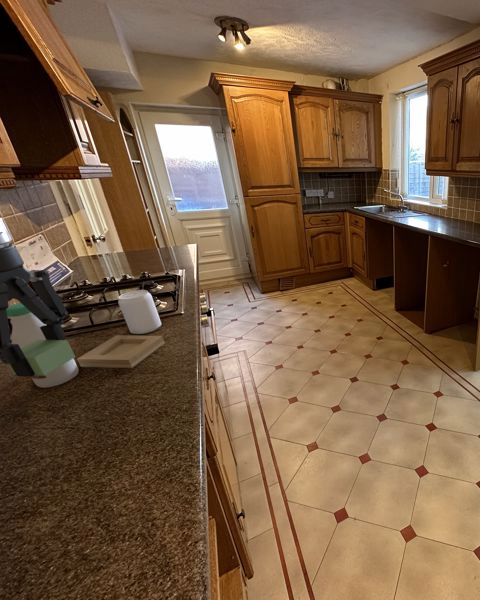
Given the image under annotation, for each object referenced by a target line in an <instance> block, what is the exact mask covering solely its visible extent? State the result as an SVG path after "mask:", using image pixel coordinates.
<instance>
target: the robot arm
mask: <svg viewBox="0 0 480 600" xmlns="http://www.w3.org/2000/svg"><path fill="white" fill-rule="evenodd" d="M12 240H13V239H12V236H11V234H10V232H9V230H8V228H7V227H6V224H5V223H4V221H3V218H2V216H1V215H0V361H1V363H2V364H4V365H8V364H10V365H11V367H12V369H13V370H14V372H15V373H16V375H15V376H16V377H30V378H31V377H32V376H33V375H35V373H34V371H33V369H32V368H31V366H30V364H29V362H28V361H27V359H26V357H25V355H24V353H23V352H22V350H21V348H20V346H19V345H18V344H12V338H11V333H10V325H9V318H8V316H7V311H6V309H7V308H8V307H9V306H10V305H9V302H11V301H12V300H13V299H14V300H16V301H18V302H19V303H21V304H23V305H24V306H25V307H26V308H27V309H28V310H29V311H30V312H31V313H32V314H33V315H35V316H36V317H37V318H38V319H39V320H40V321H41V322H42V323H43V324H46V325H44V326H41V327H40V329H41V331H42V333H43V335H44V337H45V338H46V340H65V339H64V338H66V333H65V331H64V329H63V327H62V325H63V324H65V319H64V318H67V317H68V316H69V313H68V311H67V309H66V307H65V305H64V303H63V302H62V300H61V298H60V297H59V295H58V293H57V291H56V289H55V288H54V286H53V284H52V283H51V282H52V281H51V279H50V272H49V271H48V270H46V269H31V270H28V269H27V268H25V266H24V264H25V262H24V259H23V257H22V255H21V253H20V251H19V249H18V248H17V246H16V245H14V244H12V243H11V242H12ZM29 283H31V285H32V288H33V289H34V290H35V291H34V290H33V289H32V288H31V287H30V286H29ZM37 296H38V297H37Z"/></svg>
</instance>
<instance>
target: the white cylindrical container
mask: <svg viewBox="0 0 480 600" xmlns="http://www.w3.org/2000/svg"><path fill="white" fill-rule="evenodd" d="M117 303H118V306H119V308H120V311H121V313H122V316H123V318H124V320H125V323H126V325H127V328H128V330H129V332H130V333H131V334H133V335H144V334H148V333H152V332H154V331H156V330H158V329H159V328H160V327H161V326H162V320H161V319H160V316H159V312H158V310H157V307H156V303H155V300H154V299H153V296H152V294H151V293H150V292H149V291H148V290H146V289H136V290H132V291H128V292H125V293H122V294H120V295H119V296H118V301H117Z"/></svg>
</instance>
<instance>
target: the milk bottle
mask: <svg viewBox="0 0 480 600" xmlns="http://www.w3.org/2000/svg"><path fill="white" fill-rule="evenodd" d="M6 311H7V318H8V320H10V321H11V324H12V329H11V336H10V339H11V344H18V345H19V346H20V348H22V347H24V346H26V345H28V344H30V343H32V342H34V341H36V340H46V338H45V337H44V335H43V333H42V331H41V329H40V327H41V326H44V325H46V324H43V323H42V322H41V321H40V320H39V319H38V318H37V317H36V316H35V315H33V314H32V313H31V312H30V311H29V310H28V309H27V308H26V307H25V306H24V305H23V304H21V303H20V302H19V303H15V304H10V305H9V307H8V308H7V309H6ZM79 371H80V369H79V367H78V365H77V363H76V360H75V358H73V359H71V360H70V361H68V362H66V363H65V364H63V365H61V366H60V367H58V368H56V369H55V370H53V371H51V372H50V373H48V374H46V375H45V376H38V375H33V376H32V377H30V378H31V380H32V381H33V383H34V384H35V386H37V387H38V388H43V389H44V388H45V389H46V388H52V387H55V386H60V385H62V384H64V383H67V382H68V381H71V380H73V379H74V378H75V377H76V376H77V375H78V374H79Z"/></svg>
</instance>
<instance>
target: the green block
mask: <svg viewBox="0 0 480 600" xmlns="http://www.w3.org/2000/svg"><path fill="white" fill-rule="evenodd" d="M21 350H22V352H23V353H24V355H25V357H26V359H27V361H28V362H29V364H30V366H31V368H32V369H33V371H34V373H35V375H38V376H45V375H46V374H48V373H50V372H51V371H53V370H55V369H56V368H58V367H60V366H61V365H63V364H65V363H66V362H68V361H70V360H71V359H75V358H76V356H75V354H74V351H73V349H72V348H71V346H70V344H69V341H68V340H67V339H64V340H36V341H34V342H32V343H30V344H28V345H26V346H24V347H22V348H21ZM7 366H8V368H9V369H10V371H11V372H12V374H13V376H17V375H16V373H15V372H14V370H13V369H12V367H11V365H10V364H7Z"/></svg>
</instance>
